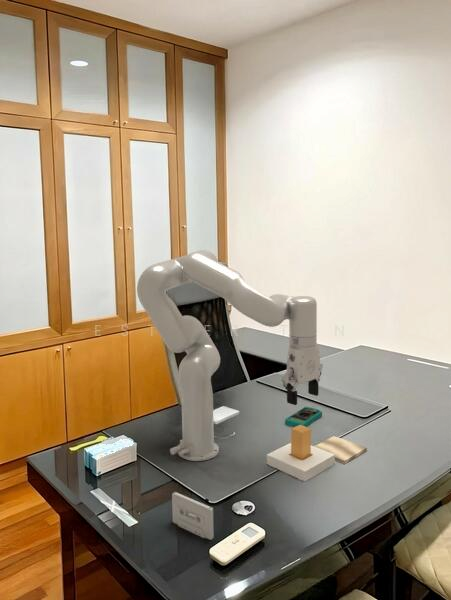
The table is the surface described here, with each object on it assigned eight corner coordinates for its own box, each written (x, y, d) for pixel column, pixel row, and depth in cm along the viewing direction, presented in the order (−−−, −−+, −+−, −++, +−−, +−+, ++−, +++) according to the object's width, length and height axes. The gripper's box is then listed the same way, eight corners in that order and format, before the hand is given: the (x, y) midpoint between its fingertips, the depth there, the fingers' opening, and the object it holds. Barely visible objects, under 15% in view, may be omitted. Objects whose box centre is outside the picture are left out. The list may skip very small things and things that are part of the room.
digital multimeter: (323, 417, 190) (323, 409, 189) (302, 431, 178) (303, 423, 177) (304, 412, 194) (305, 405, 193) (284, 426, 182) (284, 418, 182)
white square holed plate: (305, 481, 145) (305, 471, 144) (266, 464, 155) (266, 454, 154) (334, 464, 154) (335, 454, 154) (296, 448, 164) (296, 439, 164)
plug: (301, 469, 152) (302, 432, 150) (290, 464, 155) (291, 428, 153) (310, 464, 154) (311, 428, 152) (299, 459, 157) (300, 424, 155)
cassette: (171, 523, 127) (170, 493, 125) (176, 519, 128) (175, 490, 127) (210, 541, 119) (209, 510, 118) (215, 537, 121) (214, 507, 120)
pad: (344, 464, 154) (344, 460, 154) (311, 450, 163) (311, 447, 163) (366, 450, 162) (366, 447, 162) (333, 438, 171) (333, 435, 171)
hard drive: (222, 405, 198) (199, 415, 188) (239, 411, 192) (216, 421, 183) (222, 409, 198) (199, 419, 189) (239, 415, 192) (216, 425, 183)
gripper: (293, 349, 139) (294, 411, 142) (332, 337, 151) (331, 394, 154) (272, 344, 145) (272, 404, 148) (311, 333, 156) (310, 388, 159)
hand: (302, 399), depth 151 cm, fingers open, 9 cm apart
